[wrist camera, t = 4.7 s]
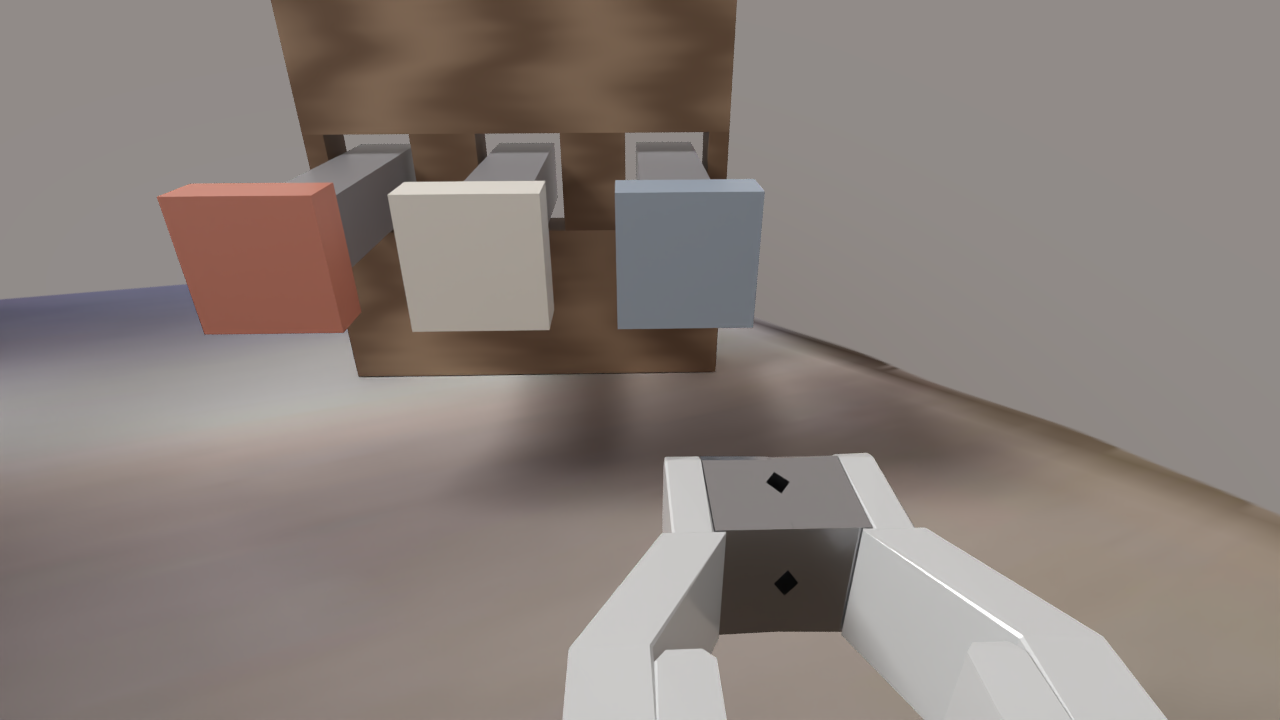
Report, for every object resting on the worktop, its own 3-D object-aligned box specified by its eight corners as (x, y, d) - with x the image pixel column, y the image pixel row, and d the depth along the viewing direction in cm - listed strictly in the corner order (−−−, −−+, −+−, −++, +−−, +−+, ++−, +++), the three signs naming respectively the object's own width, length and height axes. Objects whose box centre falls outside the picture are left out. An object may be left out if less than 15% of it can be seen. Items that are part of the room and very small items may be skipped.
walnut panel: (358, 376, 31) (268, -10, 24) (372, 357, 33) (293, -9, 25) (715, 371, 31) (737, -11, 24) (710, 352, 33) (729, -10, 26)
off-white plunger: (412, 331, 19) (387, 194, 17) (489, 215, 30) (478, 124, 28) (549, 330, 19) (539, 193, 17) (575, 214, 30) (571, 123, 28)
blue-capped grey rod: (617, 329, 19) (614, 192, 17) (619, 214, 30) (617, 123, 28) (752, 327, 19) (764, 191, 17) (705, 213, 30) (709, 122, 29)
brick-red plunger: (204, 334, 19) (156, 197, 17) (357, 216, 30) (338, 125, 28) (343, 332, 19) (310, 195, 17) (445, 216, 30) (432, 124, 28)
